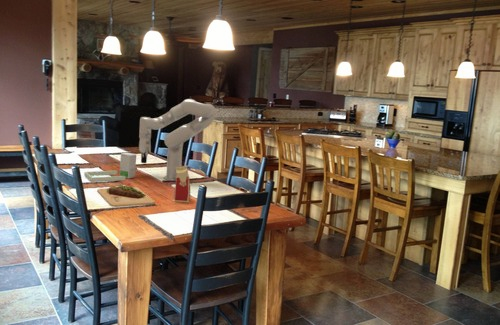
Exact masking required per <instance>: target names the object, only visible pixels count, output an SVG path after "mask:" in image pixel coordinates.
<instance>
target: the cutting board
mask: <svg viewBox="0 0 500 325" xmlns="http://www.w3.org/2000/svg"><path fill="white" fill-rule="evenodd" d="M96 192H97V193H98V194H99V195H100V197H102V198H103V199H104V201H105V202H106V203H107V204H108V205H109V206H110V207H112V208H113V207H114V208H117V207H118V208H119V207H130V206H131V207H133V206H134V207H135V206H147V205H155V200H154V199H153V198H151V197H150V196H149V195H148V194H147V193H145V192H144V191H143V190H141V188H139V187H137V186H133V185H132V183H131V182H130V181H128V182H127V183H125V185H124V184H123V185H122V184H121V185H120V184H119V186H117V185H111V186H109V187H106V188H104V187H103V188H98V189H97V191H96Z"/></svg>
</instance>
